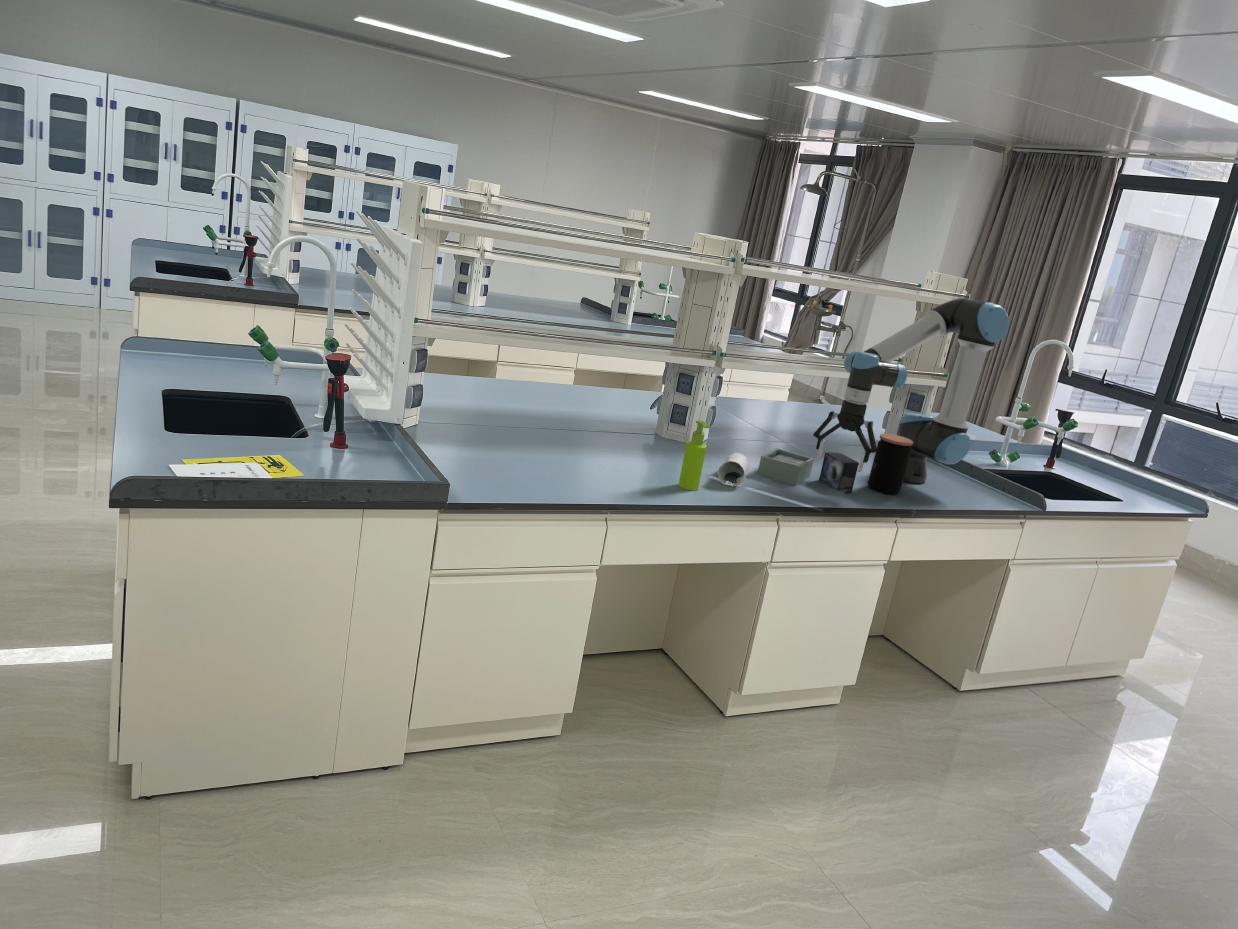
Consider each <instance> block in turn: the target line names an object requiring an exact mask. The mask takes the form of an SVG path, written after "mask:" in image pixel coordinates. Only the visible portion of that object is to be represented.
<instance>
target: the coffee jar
mask: <svg viewBox="0 0 1238 929" xmlns="http://www.w3.org/2000/svg"><path fill="white" fill-rule="evenodd" d="M879 439H880V440H878V442H877V444H876V447H877V451H876V452H875V454H874V457H873V460H872V465H871V469H870V474H869V476H868V480H867V485H868V489H870V490H871V489H872V490H871V491H874V492H876V493H879V494H883V495H888V496H896V495H898V494H899V493H900V492H902V491H901V490H902V486H903V482H904V481H903V479H904V476H905V472H906V468H907V465H908V461H909V457H910V453H911V445H913V441H912V440H910V439H908V438H905V437H901V436H898V435H897V434H894V433H893V434H892V433H891V434H890V433H880V434H879Z"/></svg>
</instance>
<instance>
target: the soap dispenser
mask: <svg viewBox="0 0 1238 929" xmlns="http://www.w3.org/2000/svg"><path fill="white" fill-rule="evenodd" d="M695 423H696V424H697V426H696V430H694V431H692V436H691V441H687V442H686V445H685V448H684V454H683V460H682V466H681V470H680V475H679V480H678V487H679V488H680V489H682V490H683V489H684V490H687V491H697V490H699V486H700V480H701V477H702V472H703V468H704V467H703V466H704V462H705V456H706V453H707V452H706V451H707V445H706V444H704V440H705V439H704V438H705V433H704V432H703V429H710V428H711V427H710V424H708V423H707V422H705V421H702V420H695Z"/></svg>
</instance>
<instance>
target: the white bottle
mask: <svg viewBox="0 0 1238 929" xmlns="http://www.w3.org/2000/svg"><path fill="white" fill-rule="evenodd" d="M749 468H750V462H749V461H748V458H747V457H746V456H745V455H744V454H742V453H740V452H733V453H731V454H729V456H728V457H727V458H726V459H725V460H724V462H723V463H722V464H721V465H720V466H719V468H718V470H717V478H718V480H719V481H720V483H721V484H722V485H723V486H726V484H725V483H726V481H727V480H728V479H725V477H726V476H727V474H730V473H737V474H738V475H739V477H738V476H737V478H736V480H735V481H736V482H735V481H732V482H733V483H734V484H733V486H732V487H736V486H739V485H741V484H742V483H743V481H744V479H745V477H746V475H747V472H748V471H749Z"/></svg>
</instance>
